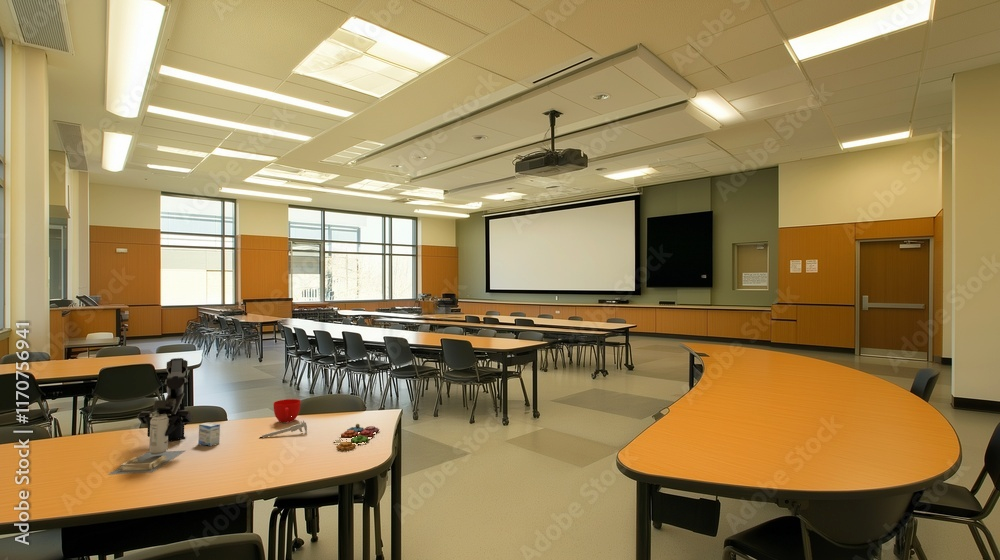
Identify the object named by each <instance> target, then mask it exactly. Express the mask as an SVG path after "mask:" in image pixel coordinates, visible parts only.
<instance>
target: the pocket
mask: <svg viewBox="0 0 1000 560" xmlns="http://www.w3.org/2000/svg"><path fill="white" fill-rule="evenodd" d="M138 457H139V456H134V457H132V458H131V459H128V460H127V461H124V462H123V463H121V464H119V468H120V471H123V470H143V469H153V468H155V467H156V466H158V465H159V464H161V463H162V462H164V461H166V455H164V456H161V457H160V458H158V459H156V460H155V461H153V462H152V463H138V464H135V463H137V462H138Z"/></svg>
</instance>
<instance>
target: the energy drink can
mask: <svg viewBox="0 0 1000 560" xmlns="http://www.w3.org/2000/svg"><path fill="white" fill-rule="evenodd" d="M157 414H158V415H156V414H154V416H152V419H151V421H150V437H149V445H148V446H149V449H148V452H150V453H151V454H152V455H158V454H163V453H165V452H166V451H167V450H168V444H169V441H168V436H165V433H166V430H167V428H168V424H169V418H168V417H167V414H159V413H157Z"/></svg>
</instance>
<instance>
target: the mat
mask: <svg viewBox="0 0 1000 560" xmlns="http://www.w3.org/2000/svg"><path fill="white" fill-rule="evenodd" d="M186 451H187V450H170V451H169V450H168V451H167V450H166V452H165V453H163V454H158V455H152V454H151V453H150V452H149V451H147V452H145V453H143V454H141V455H139V456H137V457H138V462H137V463H135V464H138V463H152V462H153V461H155V460H156V459H158V458H160V457H161V456H164V455H166V461H164V462H162V463H161V464H159V465H158V466H156V467H155V468H153V469H143V470H123V471H120V467H118V468H117V469H114V470H113V471H111V472H109V473H108V474H107V475H109V476H110V475H125V474H126V475H127V474H146V473H151V474H152V473H154V472H156V471H157V470H159V469H161V468H162V467H163V466H164V465H166V464H168V463H169V462H171V461H172V460H174V459H176V458H177V457H179V456H180V455H181V454H184V453H185V452H186Z"/></svg>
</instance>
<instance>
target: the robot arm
mask: <svg viewBox="0 0 1000 560" xmlns="http://www.w3.org/2000/svg"><path fill="white" fill-rule="evenodd" d="M188 367H189V366H188V360H187V359H186V360H185V359H184V358H183V357H177V358H171V359H170V360H169V361H166V369H165V370H166V373H168V374H167V378H166V379H165V381H164V389H166V394H167V396H166V397H165V399H163V400H160V399H159V400H155V401H154V402H153V403H154V404H153V407H152V409H153V410H156V411H155V412H156V413H157V414H154V413H153V412H152V411H140V412H139V413H138V415H137V419H138V420H139V421H140V423H141V425H142V424H143V425H147V434H146V435H147V437H148V438H150V421H151V419H152V416H154V415H158V414H167V417H168V418H169V424H168V428H167V430H166V433H165V436H168V443H170V442H175V441H180V440H183V439H186V438H187V437H186V436H185V426H186V425H188V424H189V423H192V420H193V417H194V416H193V415H192V413H191V412H190V411H189V409H188V410H187V409H185V408H186V407H185V405H184V403H182V401H183V398H184V396H185V392H184V389H185V387H187V385H188V384H189V383H188V382H189V380H188V379H187V378H186V377H185V376H186V373H187V371H188Z"/></svg>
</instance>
